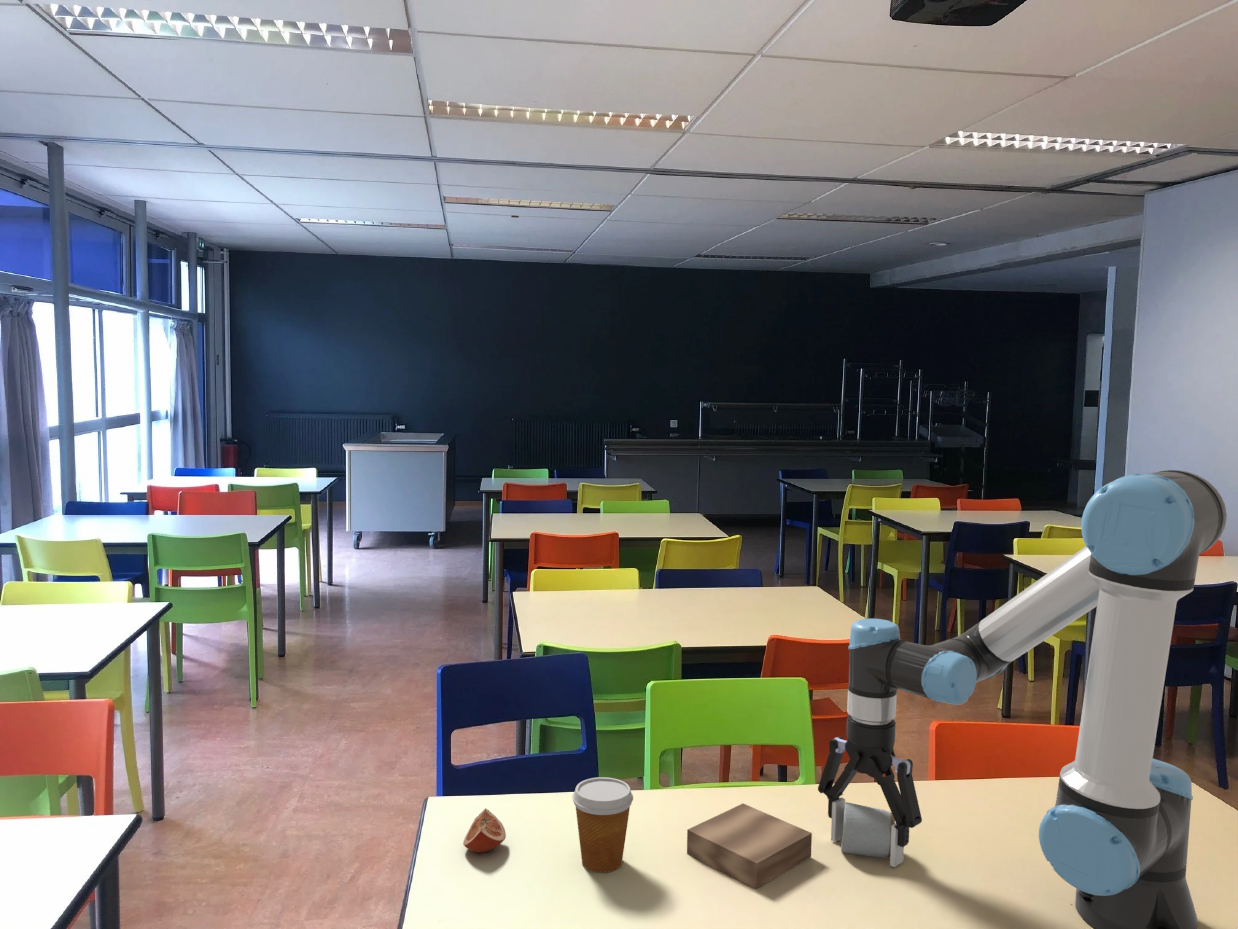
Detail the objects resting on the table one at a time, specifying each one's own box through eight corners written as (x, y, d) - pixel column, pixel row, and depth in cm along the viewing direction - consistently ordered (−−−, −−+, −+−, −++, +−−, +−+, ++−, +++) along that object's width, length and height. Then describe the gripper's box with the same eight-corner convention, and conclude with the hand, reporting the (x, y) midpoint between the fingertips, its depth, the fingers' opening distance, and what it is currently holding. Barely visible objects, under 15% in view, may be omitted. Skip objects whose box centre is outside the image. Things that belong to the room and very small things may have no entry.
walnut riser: (811, 857, 147) (811, 833, 147) (756, 889, 138) (756, 863, 138) (742, 826, 158) (743, 803, 157) (686, 853, 148) (687, 829, 148)
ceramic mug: (894, 867, 144) (896, 820, 144) (840, 861, 146) (842, 814, 146) (890, 837, 155) (892, 792, 154) (840, 831, 157) (842, 787, 156)
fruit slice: (467, 836, 153) (467, 806, 153) (508, 835, 153) (508, 806, 153) (460, 862, 145) (460, 831, 144) (503, 861, 145) (503, 831, 145)
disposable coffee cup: (579, 882, 139) (580, 805, 138) (565, 851, 148) (566, 779, 147) (639, 874, 142) (641, 799, 141) (623, 844, 151) (624, 773, 150)
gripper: (949, 731, 142) (943, 870, 144) (824, 694, 158) (820, 819, 160) (925, 743, 137) (919, 887, 138) (798, 703, 153) (794, 832, 155)
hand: (866, 850), depth 149 cm, fingers closed on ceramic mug, 10 cm apart
